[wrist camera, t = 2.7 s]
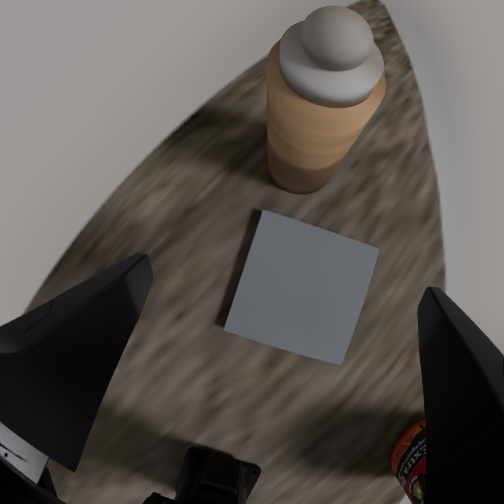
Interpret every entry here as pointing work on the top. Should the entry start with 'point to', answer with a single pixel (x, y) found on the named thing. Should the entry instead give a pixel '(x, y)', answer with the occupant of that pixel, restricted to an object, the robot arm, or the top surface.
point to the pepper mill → (320, 96)
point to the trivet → (301, 288)
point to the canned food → (411, 462)
